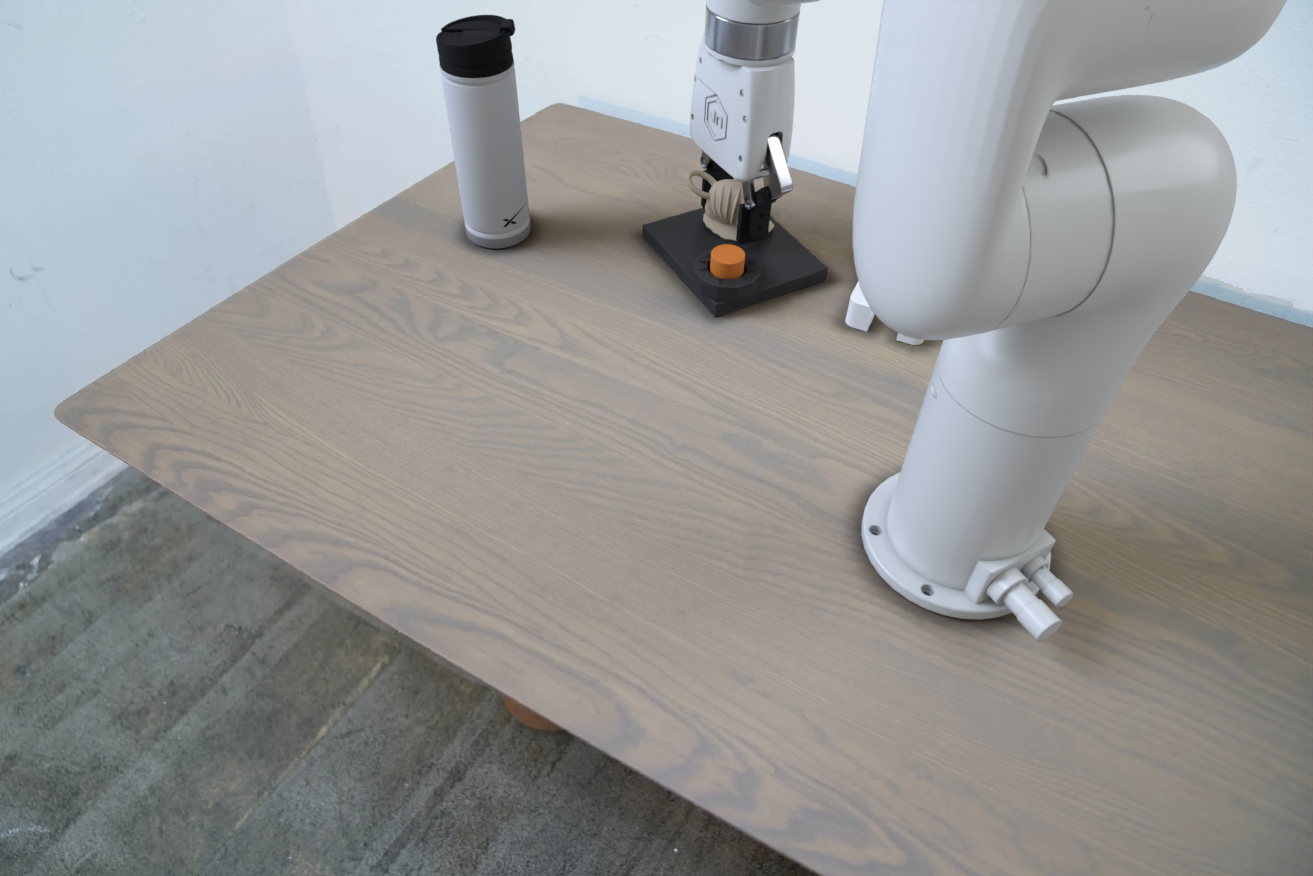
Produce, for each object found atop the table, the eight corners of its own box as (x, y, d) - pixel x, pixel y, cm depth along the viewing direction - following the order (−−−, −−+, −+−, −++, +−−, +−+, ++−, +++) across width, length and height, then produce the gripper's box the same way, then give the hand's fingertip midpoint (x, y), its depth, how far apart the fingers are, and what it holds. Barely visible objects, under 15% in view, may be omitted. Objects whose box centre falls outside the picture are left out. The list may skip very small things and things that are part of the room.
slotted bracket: (920, 347, 77) (943, 272, 71) (842, 324, 79) (858, 249, 73) (953, 266, 85) (976, 193, 79) (882, 248, 87) (899, 175, 81)
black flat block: (829, 283, 83) (834, 256, 81) (713, 321, 79) (715, 294, 77) (746, 206, 92) (749, 180, 90) (638, 237, 88) (638, 211, 85)
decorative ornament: (762, 249, 84) (768, 198, 80) (680, 228, 86) (682, 178, 83) (775, 227, 87) (782, 177, 83) (695, 207, 89) (698, 157, 85)
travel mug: (530, 250, 86) (508, 38, 71) (461, 249, 86) (425, 36, 71) (537, 214, 90) (518, 8, 76) (472, 213, 90) (440, 6, 76)
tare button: (750, 274, 79) (751, 258, 78) (720, 284, 78) (722, 267, 77) (732, 257, 81) (733, 240, 80) (703, 265, 80) (704, 249, 79)
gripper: (660, 0, 77) (656, 188, 90) (769, 81, 66) (747, 280, 80) (735, -14, 79) (721, 171, 92) (852, 62, 69) (817, 258, 82)
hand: (733, 220), depth 86 cm, fingers closed on decorative ornament, 5 cm apart
